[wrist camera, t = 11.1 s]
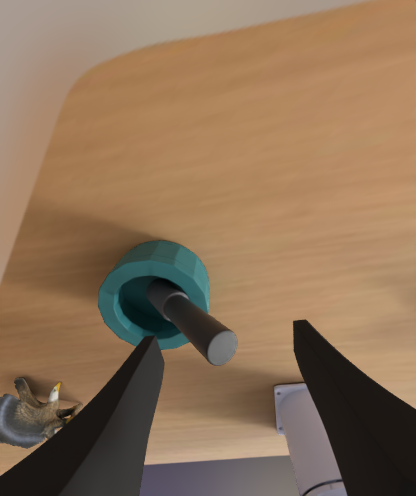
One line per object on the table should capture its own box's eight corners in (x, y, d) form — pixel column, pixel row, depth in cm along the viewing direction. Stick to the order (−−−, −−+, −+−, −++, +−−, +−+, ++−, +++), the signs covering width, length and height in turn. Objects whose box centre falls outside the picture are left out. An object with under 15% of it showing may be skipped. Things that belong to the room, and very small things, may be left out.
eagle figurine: (90, 386, 28) (1, 375, 25) (63, 466, 24) (-44, 464, 21) (88, 384, 34) (17, 375, 31) (67, 448, 30) (-17, 445, 27)
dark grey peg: (173, 297, 23) (244, 354, 13) (149, 307, 22) (209, 379, 12) (166, 274, 22) (236, 318, 13) (142, 284, 21) (198, 340, 12)
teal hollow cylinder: (215, 313, 24) (215, 345, 20) (132, 322, 25) (117, 354, 21) (200, 233, 21) (197, 253, 17) (105, 247, 22) (81, 269, 18)
